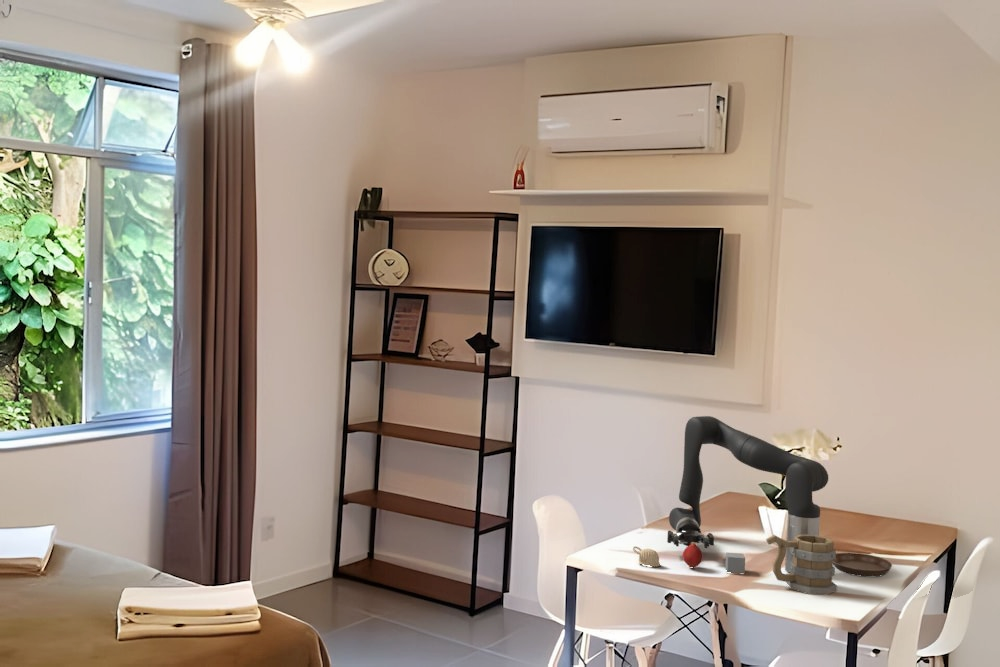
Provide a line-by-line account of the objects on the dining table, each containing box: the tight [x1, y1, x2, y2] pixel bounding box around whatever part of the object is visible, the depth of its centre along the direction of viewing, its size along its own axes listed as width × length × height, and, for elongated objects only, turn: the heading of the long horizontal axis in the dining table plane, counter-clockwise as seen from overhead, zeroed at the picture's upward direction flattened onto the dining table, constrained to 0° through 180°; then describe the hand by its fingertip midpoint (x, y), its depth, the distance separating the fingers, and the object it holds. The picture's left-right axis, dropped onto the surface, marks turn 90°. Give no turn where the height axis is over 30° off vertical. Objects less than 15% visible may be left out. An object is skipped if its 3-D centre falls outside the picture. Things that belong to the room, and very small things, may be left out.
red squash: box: [682, 542, 704, 569], centre depth 294 cm, size 6×6×8 cm
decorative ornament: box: [632, 545, 661, 567], centre depth 295 cm, size 4×8×5 cm, turn 64°
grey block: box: [725, 552, 746, 573], centre depth 292 cm, size 5×5×5 cm
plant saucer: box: [833, 552, 893, 577], centre depth 298 cm, size 18×18×3 cm
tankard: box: [765, 534, 838, 595], centre depth 278 cm, size 20×13×15 cm, turn 92°
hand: (691, 544), depth 299 cm, fingers open, 8 cm apart
